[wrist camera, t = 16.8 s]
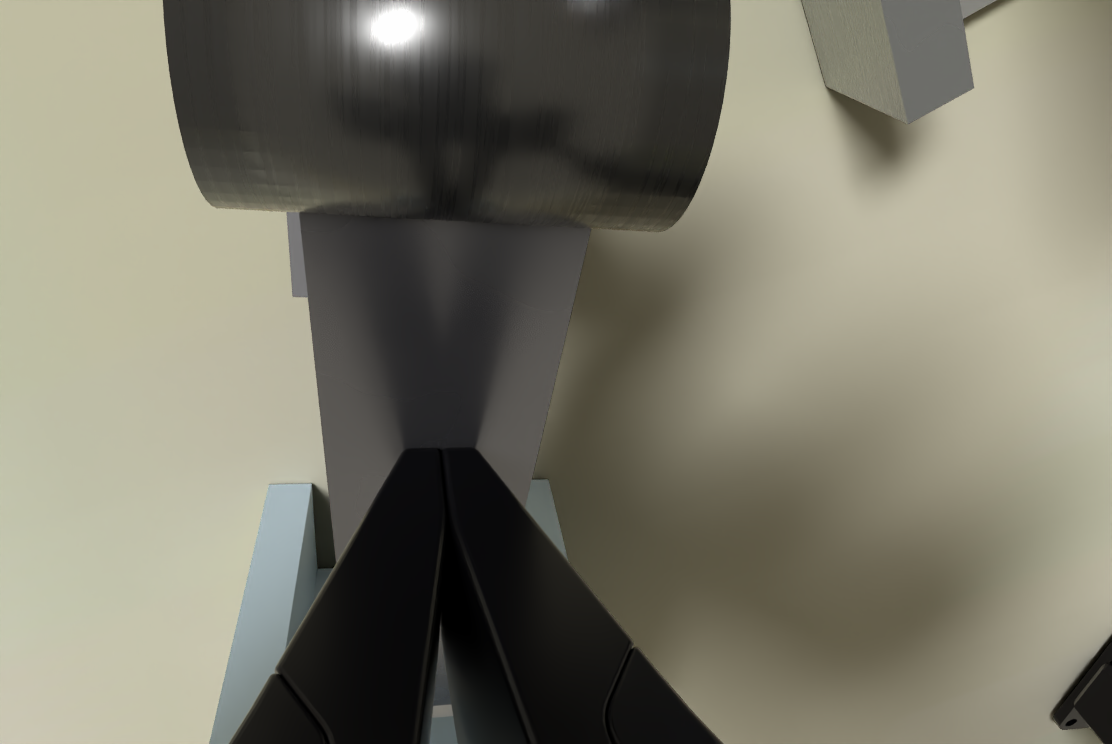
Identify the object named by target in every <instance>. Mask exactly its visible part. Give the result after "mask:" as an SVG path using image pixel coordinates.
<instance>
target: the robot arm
mask: <svg viewBox="0 0 1112 744" xmlns="http://www.w3.org/2000/svg"><path fill="white" fill-rule="evenodd" d="M440 625H441V639H442V647H443V654H444V661H445V667H446V674H447V680H448V686H449V693H450V699H451V705H452V711H453V718H454V724H455V730H456V737H457V743H458V744H723V743H722V742H721V741H720V740H719V739H718V738H717V737H716V736H715V734H714V733H713V732H712V731H711V730H710V729H709V728H708V727H707V726H706V725H705V724H704V723H703V722H702V721H701V720H700V719H699V718H698V717H697V716H696V715H695V714H694V713H693V711H692V710H691V709H690V708H689V707H688V706H687V704H686V703H685V702H684V701H683V700H682V699H681V697H680V696H679V695H678V694H677V693H676V692H675V690H674V689H673V688H672V687H671V686H670V685H669V684H668V682H667V681H666V680H665V679H664V678H663V677H662V675H661V674H660V673H659V672H658V671H657V669H656V668H655V667H654V666H653V664H652V663H651V662H650V661H649V659H648V658H647V657H646V656H645V654H644V653H643V652H642V651H641V649H640V648H638V647H634V642H633V640H632V639H631V638H630V636H629V635H628V634H627V633H626V631H625V630H624V629H623V628H622V627H621V625H620V624H619V623H618V622H617V620H616V619H615V618H614V617H613V615H612V614H611V613H610V612H609V611H608V609H607V608H606V607H605V606H604V604H603V603H602V602H601V601H600V600H599V598H598V597H597V596H596V595H595V593H594V592H593V591H592V590H591V588H590V587H589V586H588V585H587V584H586V582H585V581H584V580H583V579H582V577H581V576H580V575H579V574H578V572H577V571H576V570H575V569H574V568H573V566H572V565H571V564H570V563H569V561H568V560H567V559H566V558H565V556H564V555H563V554H562V553H561V552H560V550H559V549H558V548H557V547H556V545H555V544H554V543H553V542H552V540H551V539H550V538H549V537H548V536H547V534H546V533H545V532H544V531H543V529H542V528H541V527H540V526H539V524H538V523H537V522H536V521H535V520H534V518H533V517H532V516H531V515H530V513H529V512H528V511H527V510H526V508H525V507H524V506H523V505H522V504H521V502H520V501H519V500H518V499H517V497H516V496H515V495H514V494H513V492H512V491H511V490H510V489H509V488H508V486H507V485H506V484H505V483H504V481H503V480H502V479H501V478H500V477H499V475H498V474H497V473H496V472H495V470H494V469H493V468H492V467H491V465H490V464H489V463H488V462H487V461H486V459H485V458H484V457H483V456H482V454H481V453H480V452H479V451H478V450H477V449H475V448H471V447H468V448H444V449H443V450H442V451H441V453H440V452H439V451H438V449H436V448H407V449H405V450H403V452H402V453H401V454H400V456H399V458H398V459H397V461H396V463H395V464H394V466H393V468H392V469H391V471H390V473H389V475H388V476H387V478H386V480H385V481H384V483H383V485H382V486H381V488H380V490H379V492H378V493H377V495H376V497H375V498H374V500H373V502H372V503H371V505H370V507H369V509H368V510H367V512H366V514H365V515H364V517H363V519H362V520H361V522H360V524H359V526H358V527H357V529H356V531H355V532H354V534H353V536H352V537H351V539H350V541H349V543H348V544H347V546H346V548H345V549H344V551H343V553H342V554H341V556H340V558H339V560H338V561H337V563H336V565H335V566H334V568H333V570H332V571H331V573H330V575H329V577H328V578H327V580H326V582H325V583H324V585H323V587H322V588H321V590H320V592H319V594H318V595H317V597H316V599H315V600H314V602H313V604H312V605H311V607H310V609H309V611H308V612H307V614H306V616H305V617H304V619H303V621H302V622H301V624H300V626H299V628H298V629H297V631H296V633H295V634H294V636H293V638H292V639H291V641H290V643H289V645H288V646H287V648H286V650H285V651H284V653H283V655H282V656H281V658H280V660H279V662H278V663H277V665H276V667H275V673H274V674H271V675H270V676H269V678H268V680H267V681H266V683H265V685H264V686H263V688H262V690H261V691H260V693H259V695H258V697H257V698H256V700H255V702H254V703H253V705H252V707H251V708H250V710H249V712H248V713H247V715H246V716H245V718H244V719H243V721H242V723H241V724H240V726H239V727H238V729H237V731H236V732H235V734H234V735H233V737H232V738H231V740H230V742H229V743H228V744H430V734H431V724H432V714H433V704H434V694H435V683H436V673H437V663H438V651H439V636H440ZM633 647H634V648H633ZM1053 720H1054V721H1055V723H1056V724H1057V725H1058V726H1059V728H1060V729H1062V730H1068V729H1078V728H1087V727H1090V728H1091V729H1092V730H1093V731H1094V733H1095V734H1096V735H1097V736H1098V738H1099V739H1100V740H1101V741H1102V742H1103V744H1112V642H1111V643H1110V644H1109V645H1108V647H1107V648H1106V649H1105V651H1104V652H1103V653H1102V654H1101V656H1100V657H1099V658H1098V659H1097V661H1096V662H1095V663H1094V665H1093V666H1092V667H1091V668H1090V670H1089V671H1088V672H1087V674H1086V675H1085V676H1084V677H1083V679H1082V680H1081V681H1080V682H1079V684H1078V685H1077V686H1076V688H1075V689H1074V690H1073V691H1072V693H1071V694H1070V695H1069V697H1068V698H1067V699H1066V700H1065V702H1064V703H1063V704H1062V706H1061V707H1060V708H1059V709H1058V711H1057V712H1056V713H1055V714H1054V716H1053Z"/></svg>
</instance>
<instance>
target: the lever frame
mask: <svg viewBox="0 0 1112 744" xmlns="http://www.w3.org/2000/svg"><path fill="white" fill-rule="evenodd" d="M287 225H288V239H289V253H290V267H291V281H292V295H293V297H308V293H307V284H306V275H305V265H304V256H303V246H302V237H301V227H300V218H299V212H287ZM525 508H526V510H527V511H528V512H529V513H530V515H531V516H532V517H533V518H534V520H535V521H536V522H537V523H538V524H539V526H540V527H541V528H542V529H543V531H544V532H545V533H546V534H547V536H548V537H549V538H550V539H551V540H552V542H553V543H554V544H555V545H556V547H557V548H558V549H559V550H560V552H561V553H562V554H563V555H564V556H565V558H566V559H567V560H568V558H567V553H566V549H565V545H564V541H563V537H562V533H561V529H560V525H559V521H558V516H557V512H556V508H555V504H554V500H553V496H552V492H551V488H550V484H549V480H548V479H542V480H532V481H531V485H530V489H529V493H528V498H527V502H526V506H525ZM332 570H333V568H326V569H317V556H316V541H315V526H314V511H313V496H312V484H269V487H268V491H267V496H266V500H265V504H264V509H263V513H262V517H261V522H260V526H259V530H258V535H257V539H256V543H255V548H254V552H253V556H252V561H251V565H250V569H249V574H248V578H247V582H246V587H245V591H244V595H243V600H242V604H241V608H240V613H239V617H238V621H237V626H236V630H235V634H234V639H233V643H232V647H231V652H230V656H229V660H228V665H227V669H226V673H225V678H224V682H223V686H222V691H221V695H220V699H219V704H218V708H217V712H216V717H215V721H214V725H213V730H212V734H211V738H210V743H209V744H228V743H229V742H230V740H231V738H232V737H233V735H234V734H235V732H236V731H237V729H238V727H239V726H240V724H241V723H242V721H243V719H244V718H245V716H246V715H247V713H248V712H249V710H250V708H251V707H252V705H253V703H254V702H255V700H256V698H257V697H258V695H259V693H260V691H261V690H262V688H263V686H264V685H265V683H266V681H267V680H268V678H269V676H270V675H271V674H274V673H275V667H276V665H277V663H278V662H279V660H280V658H281V656H282V655H283V653H284V651H285V650H286V648H287V646H288V645H289V643H290V641H291V639H292V638H293V636H294V634H295V633H296V631H297V629H298V628H299V626H300V624H301V622H302V621H303V619H304V617H305V616H306V614H307V612H308V611H309V609H310V607H311V605H312V604H313V602H314V600H315V599H316V597H317V595H318V594H319V592H320V590H321V588H322V587H323V585H324V583H325V582H326V580H327V578H328V577H329V575H330V573H331V571H332ZM430 744H458V743H457V737H456V730H455V724H454V718H453V711H452V705H438V706H433V714H432V724H431V734H430Z"/></svg>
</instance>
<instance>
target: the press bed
mask: <svg viewBox="0 0 1112 744" xmlns="http://www.w3.org/2000/svg"><path fill="white" fill-rule="evenodd" d="M994 1H996V0H802V3H803V7H804V11H805V14H806V18H807V21H808V25H809V28H810V32H811V35H812V39H813V43H814V46H815V50H816V53H817V57H818V60H819V64H820V67H821V71H822V75H823V78H824V82H825V85H826V87H828V88H830V89H832V90H835V91H837V92H839V93H841V94H843V95H845V96H848V97H850V98H852V99H854V100H856V101H859V102H861V103H863V104H865V105H867V106H869V107H872V108H874V109H876V110H878V111H880V112H882V113H885V114H887V115H889V116H891V117H893V118H895V119H898V120H900V121H902V122H904V123H906V124H909V123H911V122H913V121H915V120H917V119H919V118H920V117H922V116H924V115H926V114H928V113H930V112H931V111H933V110H935V109H937V108H939V107H940V106H942V105H944V104H946V103H948V102H950V101H951V100H953V99H955V98H957V97H959V96H961V95H962V94H964V93H966V92H968V91H970V90H972V89H973V88H974V84H973V78H972V72H971V66H970V59H969V53H968V47H967V41H966V35H965V29H964V22H963V19H964V18H966V17H968V16H969V15H971V14H973V13H975V12H976V11H978V10H980V9H982V8H984V7H985V6H987V5H989V4H991V3H993V2H994Z"/></svg>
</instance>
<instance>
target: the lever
mask: <svg viewBox="0 0 1112 744" xmlns="http://www.w3.org/2000/svg"><path fill="white" fill-rule="evenodd" d="M163 9H164V25H165V36H166V47H167V56H168V64H169V72H170V79H171V85H172V91H173V98H174V104H175V109H176V114H177V119H178V124H179V128H180V132H181V136H182V140H183V144H184V148H185V152H186V155H187V158H188V161H189V165H190V168H191V170H192V173H193V175H194V178H195V181H196V183H197V185H198V187H199V189H200V191H201V193H202V194H203V196H204V197H205V199H206V200H207V201H208V202H209V203H210V204H211V205H212V206H213V207H216V208H225V209H243V210H262V211H280V212H299V218H300V227H301V237H302V246H303V256H304V265H305V275H306V284H307V293H308V303H309V312H310V322H311V331H312V341H313V350H314V359H315V369H316V378H317V388H318V397H319V407H320V416H321V426H322V435H323V444H324V454H325V463H326V473H327V482H328V492H329V501H330V510H331V520H332V529H333V539H334V548H335V558H336V563H337V561H338V560H339V558H340V556H341V554H342V553H343V551H344V549H345V548H346V546H347V544H348V543H349V541H350V539H351V537H352V536H353V534H354V532H355V531H356V529H357V527H358V526H359V524H360V522H361V520H362V519H363V517H364V515H365V514H366V512H367V510H368V509H369V507H370V505H371V503H372V502H373V500H374V498H375V497H376V495H377V493H378V492H379V490H380V488H381V486H382V485H383V483H384V481H385V480H386V478H387V476H388V475H389V473H390V471H391V469H392V468H393V466H394V464H395V463H396V461H397V459H398V458H399V456H400V454H401V453H402V452H403V450H405V449H407V448H436V449H438V451H439V452H440V453H441V451H442V450H443V449H444V448H468V447H471V448H475V449H477V450H478V451H479V452H480V453H481V454H482V456H483V457H484V458H485V459H486V461H487V462H488V463H489V464H490V465H491V467H492V468H493V469H494V470H495V472H496V473H497V474H498V475H499V477H500V478H501V479H502V480H503V481H504V483H505V484H506V485H507V486H508V488H509V489H510V490H511V491H512V492H513V494H514V495H515V496H516V497H517V499H518V500H519V501H520V502H521V504H522V505H523V506H524V507H525V506H526V502H527V498H528V493H529V489H530V485H531V481H532V476H533V472H534V468H535V464H536V460H537V455H538V451H539V447H540V443H541V439H542V434H543V430H544V426H545V422H546V417H547V413H548V409H549V405H550V401H551V396H552V392H553V388H554V384H555V380H556V375H557V371H558V367H559V363H560V358H561V354H562V350H563V346H564V342H565V337H566V333H567V329H568V325H569V321H570V316H571V312H572V308H573V304H574V299H575V295H576V291H577V287H578V283H579V278H580V274H581V270H582V266H583V261H584V257H585V253H586V249H587V245H588V240H589V236H590V232H591V228H593V229H612V230H630V231H648V232H661V231H665V230H667V229H669V228H670V227H672V226H673V225H674V224H675V223H676V222H677V221H678V220H679V219H680V217H681V216H682V215H683V213H684V212H685V211H686V209H687V207H688V206H689V204H690V202H691V201H692V199H693V197H694V195H695V193H696V190H697V188H698V186H699V184H700V182H701V179H702V176H703V174H704V171H705V168H706V166H707V163H708V160H709V156H710V153H711V150H712V147H713V143H714V139H715V135H716V131H717V128H718V123H719V119H720V114H721V109H722V104H723V98H724V92H725V85H726V79H727V70H728V60H729V49H730V30H731V7H730V0H163ZM438 705H451V699H450V693H449V686H448V680H447V674H446V667H445V661H444V654H443V647H442V639H441V625H440V636H439V651H438V663H437V673H436V683H435V694H434V704H433V706H438Z"/></svg>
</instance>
